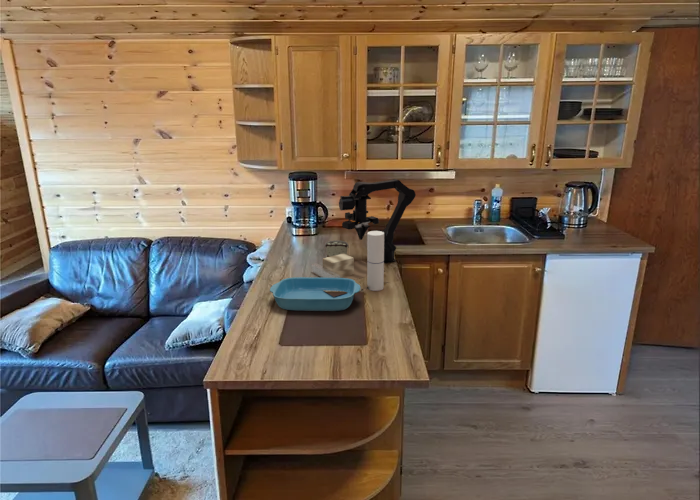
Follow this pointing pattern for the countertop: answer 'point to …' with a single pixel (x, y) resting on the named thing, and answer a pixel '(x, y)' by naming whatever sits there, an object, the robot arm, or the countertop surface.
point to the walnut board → (357, 270)
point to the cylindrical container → (375, 260)
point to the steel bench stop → (323, 271)
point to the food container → (336, 248)
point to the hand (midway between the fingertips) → (360, 239)
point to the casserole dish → (314, 293)
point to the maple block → (340, 264)
